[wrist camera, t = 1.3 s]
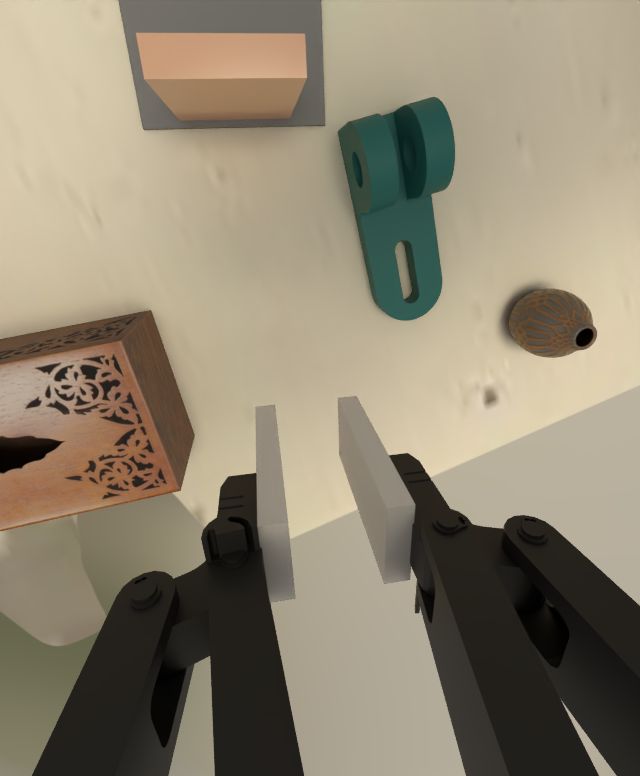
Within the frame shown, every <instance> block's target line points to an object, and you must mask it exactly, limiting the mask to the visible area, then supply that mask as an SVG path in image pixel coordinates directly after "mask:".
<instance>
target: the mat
mask: <svg viewBox="0 0 640 776" xmlns="http://www.w3.org/2000/svg"><path fill="white" fill-rule="evenodd" d="M118 1H119V6H120V11H121V16H122V22H123V27H124V32H125V37H126V43H127V48H128V53H129V58H130V63H131V69H132V74H133V79H134V84H135V90H136V95H137V100H138V105H139V110H140V116H141V121H142V126H143V129H144V130H158V129H201V128H244V127H288V126H324V125H325V107H324V75H323V43H322V11H321V0H118ZM136 33H295V34H305V44H306V66H307V79H306V82H305V84H304V86H303V89H302V91H301V93H300V96H299V98H298V100H297V103H296V105H295V107H294V110H293V112H292V114H291V117H290V119H248V120H200V121H180V120H179V119H178V118H177V117H176V116H175V115H174V113H173V112H172V111H171V110H170V109H169V108H168V106H167V105H166V104H165V103H164V102H163V101H162V99H161V98H160V97H159V96H158V95H157V94H156V92H155V91H154V90H153V89H152V88H151V87H150V85H149V84H148V83H147V82H146V81H145V80H144V75H143V69H142V64H141V58H140V53H139V47H138V42H137V37H136Z"/></svg>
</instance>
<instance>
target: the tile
mask: <svg viewBox="0 0 640 776" xmlns="http://www.w3.org/2000/svg"><path fill="white" fill-rule="evenodd" d="M136 37H137V42H138V47H139V53H140V58H141V64H142V69H143V75H144V80H145V81H146V82H147V83H148V84H149V85H150V87H151V88H152V89H153V90H154V91H155V92H156V94H157V95H158V96H159V97H160V98H161V99H162V101H163V102H164V103H165V104H166V105H167V106H168V108H169V109H170V110H171V111H172V112H173V113H174V115H175V116H176V117H177V118H178V119H179V120H180V121H200V120H248V119H290V117H291V114H292V112H293V110H294V107H295V105H296V103H297V100H298V98H299V96H300V93H301V91H302V89H303V86H304V84H305V82H306V79H307V66H306V44H305V34H295V33H136Z"/></svg>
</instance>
